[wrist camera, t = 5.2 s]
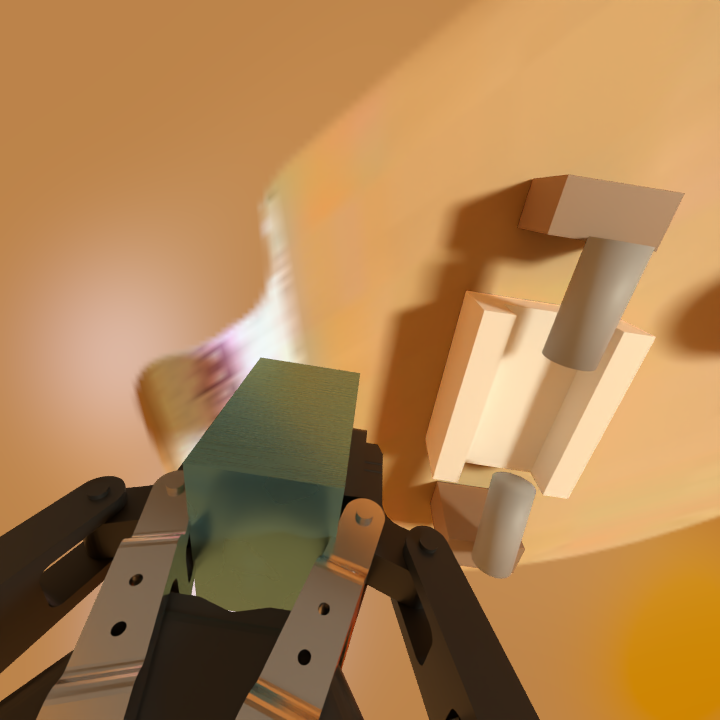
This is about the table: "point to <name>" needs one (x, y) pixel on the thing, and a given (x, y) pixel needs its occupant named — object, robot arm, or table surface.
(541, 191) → the shaft rig
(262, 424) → the green rectangular block
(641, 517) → the table surface
